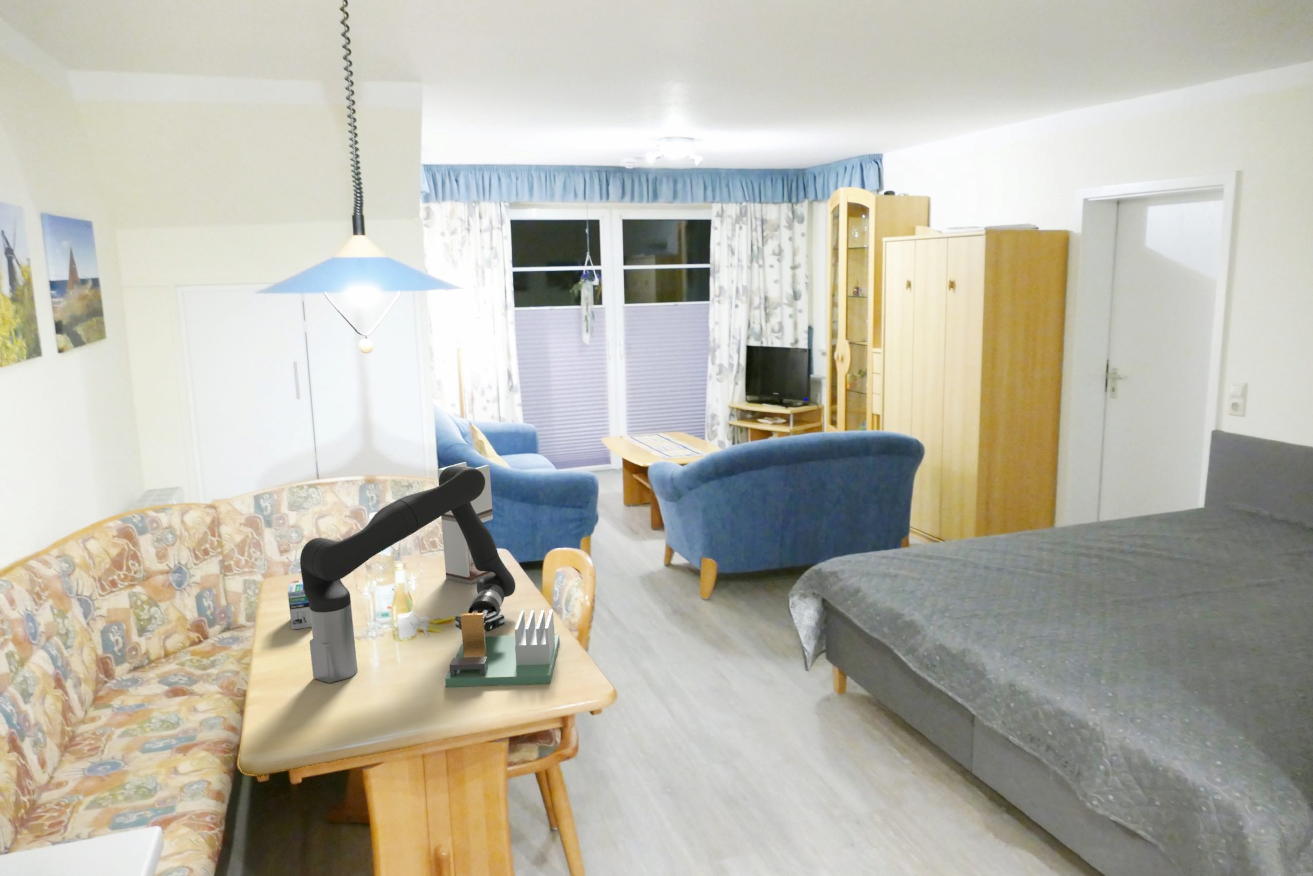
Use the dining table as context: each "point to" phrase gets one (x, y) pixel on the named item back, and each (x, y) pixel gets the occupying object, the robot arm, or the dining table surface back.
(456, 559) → the notched white tower
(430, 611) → the dining table surface
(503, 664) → the heatsink board
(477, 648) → the upright wooden plank
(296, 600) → the light bulb box
